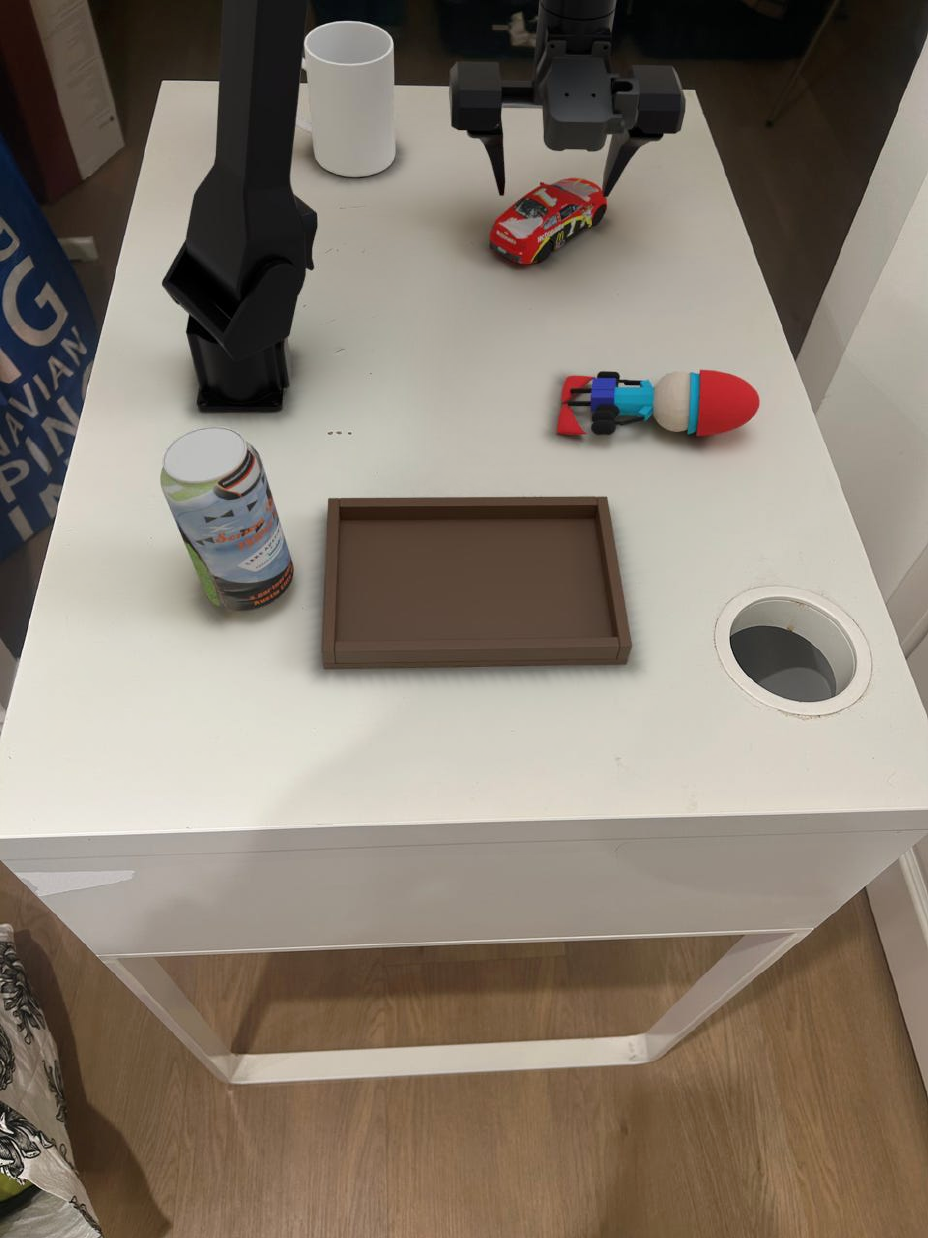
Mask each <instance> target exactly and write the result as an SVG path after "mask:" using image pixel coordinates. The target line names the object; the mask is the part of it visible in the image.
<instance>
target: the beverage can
mask: <svg viewBox="0 0 928 1238" xmlns="http://www.w3.org/2000/svg"><path fill="white" fill-rule="evenodd" d="M160 471H161V472H160V476H159V477H160V478H159V482H160V488H161V490H162V493H163V495H164V498H165V500H166V502H167V505H168V507H169V510H170V512H171V515H172V517H173V519H174V521H175V524H176V526H177V530H178V531H179V533H180V534H179V535H180V536H181V538H182V542H183V543H184V545H185V548H186V550H187V553H188V555H189V558H190V560H191V562H192V566H193V567H194V569H195V572H196V574H197V577H198V579H199V581H200V584H201V587H202V588H203V591H204V593H205V595H206V597H207V598H208V601H210V602H211V603H212V604H213V605H215V606H216V607H218V608H221V609H224V610H226V611H232V612H248V611H253V610H258V609H260V608H263V607H266V606H268V605H270V604H271V603H274V602H275V601H276V600H278V599H279V598H280V597H282V596H283V594H284V593H285V592H286V591H287V590H288V589H289V587H290V585H291V584H292V581H293V578H294V572H295V569H294V568H295V567H294V563H293V562H294V561H293V560H292V556H291V553H290V550H289V546H288V544H287V539H286V537H285V533H284V530H283V527H282V523H281V521H280V520H281V519H280V517H279V513H278V510H277V506H276V504H275V500H274V497H273V493H272V491H271V487H270V483H269V481H268V477H267V474H266V470H265V467H264V463H263V460H262V458H261V456H260V453H259V452H258V450H257V449H256V448H255V447H254V446H253V444H251V443H250V442H248V441H247V440H246V439H245V438H244V436H243V435H242V434H241V433H240V432H238V431H237V430H235V429H233V428H229V427H226V426H218V425H217V426H216V425H209V426H203V427H198V428H195V429H192V430H190V431H187V432H185V433H183V434H181V435H180V436H178V437H177V438H176V439H174V440H173V441H172V442H171V443H170V444H169V445H168V446H167V448H166V449H165V451H164V453H163V456H162V468H161V470H160Z"/></svg>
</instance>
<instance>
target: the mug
mask: <svg viewBox="0 0 928 1238" xmlns="http://www.w3.org/2000/svg"><path fill="white" fill-rule="evenodd" d="M394 46H395V45H394V40H393V38H392V36H391V35H390V34H389V32H387V31H386V30H384V29H383V28H381V27H379V26H377V25H374V24H371V23H368V22H362V21H355V20H354V21H353V20H342V21H333V22H329V23H325V24H322V25H319V26H317V27H315V28H313V29H312V30H311V31H309V33H308V34H307V35H305V39H304V57H303V59H302V68H301V69H303V70H304V71H306V81H307V90H308V91H307V92H308V103H309V113H310V121H308V120H306V119H304V118H302V117H301V116H298V115H297V116H296V126H295V127H298V128H299V129H301V130H303V131H305V132H307V133H310V134H311V135H312V136H311V137H312V147H313V154H314V158H315V160H316V162H317V163H318V164H319V166H320V167H322V168H323V169H325V170H326V171H327V172H330V173H332V174H334V175H339V176H341V177H347V178H350V177H351V178H359V177H369V176H372V175H376V174H379V173H381V172H382V171H385V170H386V169H388V168H389V167H390V166H391V165H392V163H393V162H394V161H395V157H396V151H397V150H396V147H397V146H396V105H395V104H396V103H395V100H396V98H395V95H396V94H395V53H394V50H395V49H394V48H395V47H394Z"/></svg>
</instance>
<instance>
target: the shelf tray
mask: <svg viewBox="0 0 928 1238" xmlns="http://www.w3.org/2000/svg"><path fill="white" fill-rule="evenodd" d="M325 539H326V540H325V558H324V561H325V563H324V580H323V581H324V582H323V583H324V585H323V586H324V587H323V603H322V605H323V606H322V626H321V627H322V629H321V649H320V650H321V658H322V664H323V669H324V670H325V669H326V670H327V669H328V670H329V669H330V670H331V669H333V670H334V669H385V668H388V669H389V668H391V669H392V668H442V667H445V668H448V667H450V668H452V667H453V668H454V667H456V668H457V667H511V666H567V665H569V666H571V665H575V666H577V665H579V666H580V665H625V664H626V665H627V663H628V662H629V661H628V660H629V657H630V654H631V652H632V649H633V641H632V637H631V636H632V635H631V630H630V625H629V618H628V611H627V607H626V600H625V594H624V589H623V583H622V577H621V569H620V565H619V559H618V558H619V557H618V553H617V547H616V539H615V534H614V529H613V523H612V517H611V511H610V505H609V499H608V496H595V495H594V496H593V495H592V496H591V495H590V496H588V495H587V496H586V495H585V496H583V495H582V496H460V497H459V496H446V497H445V496H442V497H439V496H435V497H433V496H431V497H430V496H429V497H425V496H423V497H421V496H419V497H418V496H417V497H414V496H413V497H328V498H327V515H326V537H325Z"/></svg>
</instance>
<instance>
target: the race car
mask: <svg viewBox="0 0 928 1238" xmlns="http://www.w3.org/2000/svg"><path fill="white" fill-rule="evenodd" d="M607 210H608V201H607V197H603V194H602V187H600V186H599V185H598V184H597V183H595V182H593V181H590V180H588V179H584V178H578V177H568V178H563V179H559V180H558V181H555V182H553V183H550V184H548V183H544V182H543V181H540V182H539V186H537V187H535V188H533V189H532V190H530V191H529V192H527V193H526V194H524V195H523V196H522V197H521V198H519V199H518V200H517V201H516V202H514V203H513V204H512V205H511V206H509V208H507V209H506V210H505V211H503V212H502V213H501V214H500V215H498V216H497V217H496V218H495V220H494V221H493V223H492V226H491V227H490V231H489V237H488V239H489V240H488V245H489V247H490V248H489V249H490V250H492V251H495V252H496V253H497V254H499V255H501V256H502V257H504V258H505V259H508V260H510V261H511V262H512V263H517V264H520V265H532V264H535V263H538V262H539V263H543V262H545V261H546V260H548V258H549V257H550V255H551V253H552V252H555V251H556V250H558V249H560V248H561V247H562V246H564V245H566V244H567V243H569V242H570V241H572V240H573V239H574V238H575V237H578V235H581V234H582V233H583V232H584V231H586V230H588V229H589V228H590V227H592V226H598V225H599V224H600V223H601V222H602V220H603V219H604V216H605V214H606V212H607Z"/></svg>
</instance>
